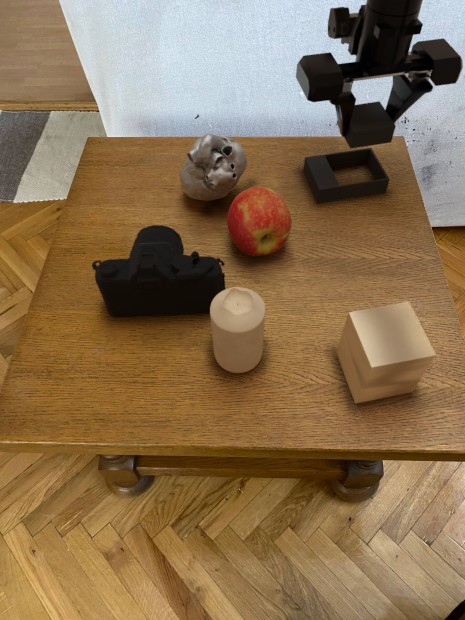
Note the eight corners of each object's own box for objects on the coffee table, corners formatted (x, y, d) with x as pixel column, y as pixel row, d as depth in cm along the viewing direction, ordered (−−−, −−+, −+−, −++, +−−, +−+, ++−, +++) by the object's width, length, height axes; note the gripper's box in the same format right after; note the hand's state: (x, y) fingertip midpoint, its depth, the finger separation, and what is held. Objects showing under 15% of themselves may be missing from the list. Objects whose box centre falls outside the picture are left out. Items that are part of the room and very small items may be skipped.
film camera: (225, 256, 63) (223, 204, 56) (226, 317, 58) (223, 269, 50) (109, 259, 63) (92, 208, 56) (99, 320, 58) (78, 273, 51)
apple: (236, 271, 62) (235, 226, 55) (221, 225, 67) (219, 179, 60) (295, 259, 63) (302, 214, 56) (277, 215, 68) (281, 168, 61)
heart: (265, 185, 71) (254, 107, 61) (238, 227, 66) (221, 149, 57) (205, 176, 75) (186, 102, 66) (175, 216, 70) (150, 141, 61)
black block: (375, 117, 67) (379, 101, 65) (391, 142, 63) (395, 125, 61) (336, 123, 66) (339, 106, 64) (350, 148, 63) (353, 132, 61)
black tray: (367, 161, 74) (371, 147, 72) (385, 192, 70) (389, 179, 68) (302, 171, 73) (304, 157, 71) (317, 203, 69) (319, 189, 67)
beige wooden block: (389, 342, 56) (409, 301, 49) (412, 392, 52) (436, 355, 45) (335, 352, 55) (348, 312, 48) (355, 403, 51) (371, 367, 45)
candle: (220, 379, 53) (217, 329, 45) (208, 337, 56) (203, 284, 48) (268, 366, 54) (273, 316, 46) (254, 326, 57) (256, 272, 49)
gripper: (442, -35, 57) (405, 90, 70) (289, -19, 56) (280, 107, 68) (488, 7, 51) (439, 136, 64) (318, 27, 49) (302, 156, 62)
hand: (363, 131), depth 65 cm, fingers closed on black block, 5 cm apart
